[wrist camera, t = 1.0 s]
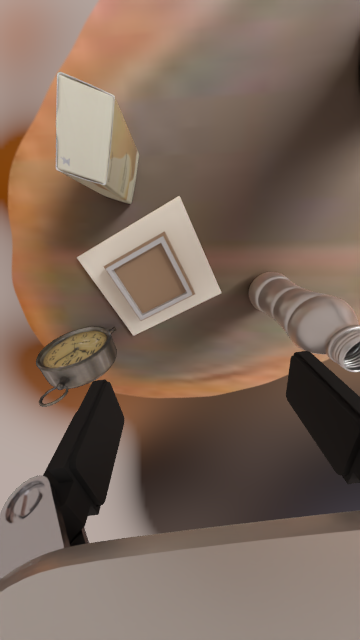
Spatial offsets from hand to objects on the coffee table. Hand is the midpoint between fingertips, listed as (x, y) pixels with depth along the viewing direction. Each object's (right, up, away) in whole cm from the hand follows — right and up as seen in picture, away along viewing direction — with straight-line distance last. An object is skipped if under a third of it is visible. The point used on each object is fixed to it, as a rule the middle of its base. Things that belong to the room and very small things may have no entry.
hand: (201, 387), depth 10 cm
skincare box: (-9, +24, +16) cm, 30 cm away
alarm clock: (-18, 0, +27) cm, 32 cm away
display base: (-6, +11, +22) cm, 26 cm away
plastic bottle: (+14, +9, +24) cm, 29 cm away
